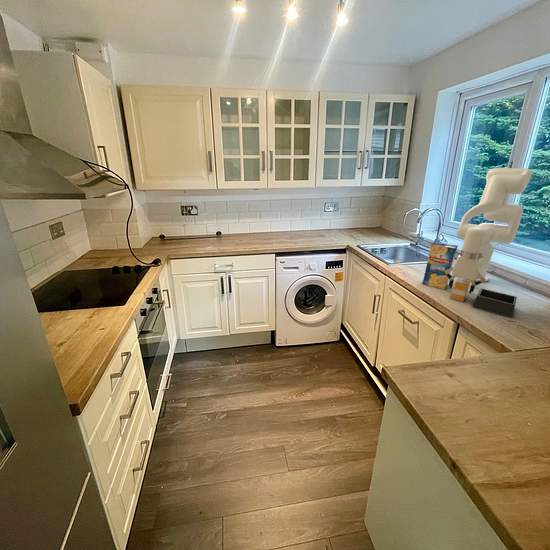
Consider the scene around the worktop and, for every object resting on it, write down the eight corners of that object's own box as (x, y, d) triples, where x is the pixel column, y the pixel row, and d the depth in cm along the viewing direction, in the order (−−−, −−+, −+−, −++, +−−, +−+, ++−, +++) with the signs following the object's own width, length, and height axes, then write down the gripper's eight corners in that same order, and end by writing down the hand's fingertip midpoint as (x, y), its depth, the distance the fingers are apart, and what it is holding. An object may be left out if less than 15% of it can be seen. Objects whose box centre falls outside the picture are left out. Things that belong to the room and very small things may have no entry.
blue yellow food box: (445, 289, 148) (455, 248, 140) (422, 283, 155) (431, 244, 147) (447, 285, 153) (457, 245, 145) (425, 280, 160) (434, 241, 152)
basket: (473, 307, 130) (476, 295, 128) (477, 299, 138) (480, 288, 136) (510, 317, 121) (515, 305, 119) (513, 308, 130) (517, 296, 127)
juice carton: (453, 294, 142) (457, 278, 139) (465, 298, 139) (470, 280, 135) (450, 298, 138) (455, 281, 135) (462, 301, 135) (467, 284, 131)
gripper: (494, 257, 128) (483, 293, 134) (450, 249, 138) (442, 283, 145) (492, 261, 122) (480, 298, 129) (446, 252, 133) (438, 287, 139)
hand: (460, 290), depth 137 cm, fingers open, 7 cm apart
